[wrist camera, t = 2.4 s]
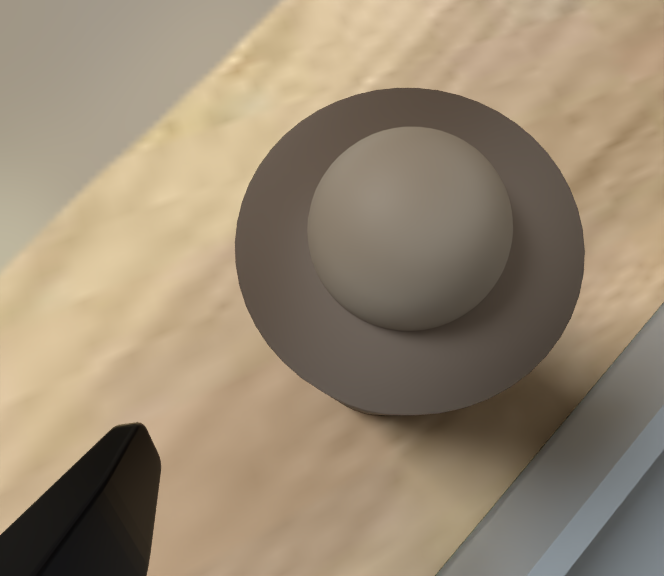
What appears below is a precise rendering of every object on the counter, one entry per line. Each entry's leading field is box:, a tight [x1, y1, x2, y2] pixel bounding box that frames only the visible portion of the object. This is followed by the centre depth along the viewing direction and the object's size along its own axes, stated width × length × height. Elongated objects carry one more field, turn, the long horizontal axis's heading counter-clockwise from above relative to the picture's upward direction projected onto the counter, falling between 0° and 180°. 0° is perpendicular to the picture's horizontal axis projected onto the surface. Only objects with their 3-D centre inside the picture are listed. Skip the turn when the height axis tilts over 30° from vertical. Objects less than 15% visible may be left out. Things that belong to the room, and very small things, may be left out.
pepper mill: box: [235, 88, 585, 415], centre depth 11 cm, size 5×5×13 cm
